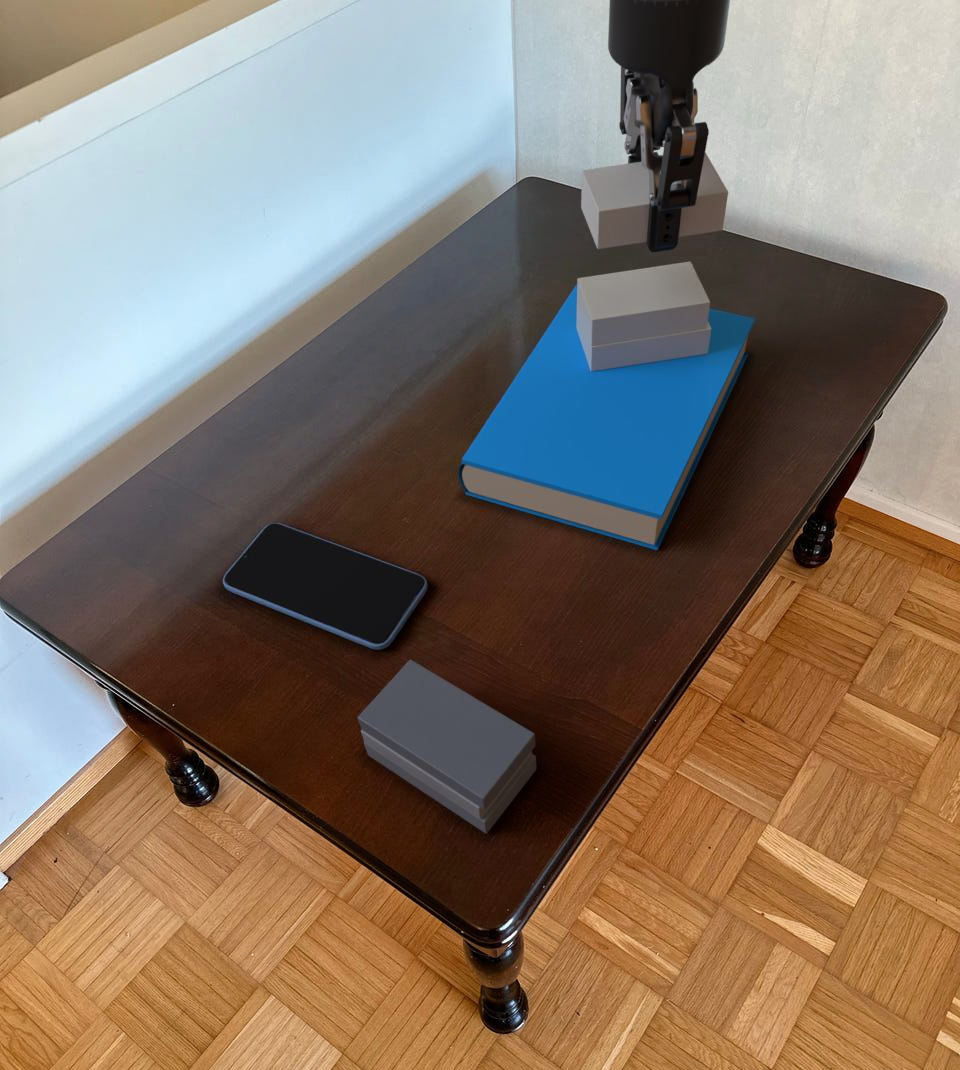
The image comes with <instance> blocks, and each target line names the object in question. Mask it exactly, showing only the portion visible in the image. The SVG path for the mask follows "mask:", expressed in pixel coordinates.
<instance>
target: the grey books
mask: <svg viewBox="0 0 960 1070" xmlns="http://www.w3.org/2000/svg"><path fill="white" fill-rule="evenodd" d="M357 721H358V724H359V726H360V733H361V737H362V739H363V746H364V747H365V751H366V754H367V756H368V757H370V758H371V759H373V760H374V761H375V762H377V763H379V764H381V765H382V766H383V767H385V768H387V769H388V770H389V771H391V772H392V773H394V774H395V775H397V776H398V777H400V778H401V779H403V780H405V781H406V782H407V783H409V784H410V785H412V786H413V787H415V788H417V790H419V791H421V792H422V793H424V794H425V795H427V796H428V797H430V798H432V799H433V800H435V801H436V802H437V803H439V804H440V805H442V806H443V807H445V808H446V809H448V810H449V811H451V812H452V813H454V814H455V815H457V816H458V817H461V818H462V819H463V820H465V821H466V822H467V823H469V824H470V825H473V827H475V828H476V829H478V830H480V831H481V832H483V833H484V834H488V833H489V832H490V831H491V829H492V828H493V826H495V824H496V822H497V821H498V820H499V818H500V817H501V816H502V815H503V814H504V813H505V811H506V810H507V808H508V807H509V806H510V804H511V803H512V802H513V801H514V799H515V798H516V796H517V795H518V794H519V793H520V792H521V790H522V789H523V788H524V786H525V785H526V783H527V782H528V781H529V780H530V778H531V777H532V776H533V775H534V774H535V772H536V771H537V756H536V755H534V754H533V750H534V748H536V733H534V732H533V731H531V730H529V729H528V728H526V727H525V726H523V725H521V724H520V723H518V722H517V721H514V720H513V719H511V718H509V717H508V716H507V715H504V714H502V713H501V712H500V711H497V710H496V709H494V708H493V707H491V706H490V705H488V704H486V703H484V702H483V701H481V700H480V699H478V698H476V697H474V696H472V695H471V694H469V693H468V692H466V691H464V690H462V689H461V688H460V687H457V686H456V685H454V684H452V683H451V682H450V681H447V680H446V679H444V678H442V677H441V676H439V675H437V674H436V673H434V672H433V671H431V670H429V669H427V668H426V667H424V666H423V665H421V664H419V663H418V662H415V661H414V660H412V659H409V660H408V661H407V662H406V663H405V664H404V666H402V667H401V669H400V670H399V671H398V672H397V673H396V674H395V675H394V676H393V678H391V680H390V681H389V682H388V683H387V684H386V686H384V687H383V689H381V691H380V692H379V693H378V694H377V695H376V696H375V698H373V699H372V701H370V703H369V704H368V705H367V706H366V707H365V708H364V709H363V710H362V711H361V713H360V714H359V715H358V716H357Z"/></svg>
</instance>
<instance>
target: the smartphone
mask: <svg viewBox="0 0 960 1070" xmlns="http://www.w3.org/2000/svg"><path fill="white" fill-rule="evenodd" d="M222 584H223V586H224V588H225V589H226V590H227V591H229V592H230V593H232V594H234V595H238V596H240V597H243V598H245V599H248V600H249V601H252V602H255V603H257V604H260V605H263V606H264V607H267V608H270V609H273V610H275V611H278V612H279V613H282V614H285V615H287V616H290V617H292V618H295V619H297V620H299V621H301V622H304V623H307V624H310V625H312V626H315V627H317V628H319V629H322V630H324V631H327V632H330V633H332V634H334V635H337V636H340V637H342V638H344V639H347V640H349V641H352V642H354V643H356V644H359V645H361V646H364V647H367V648H369V649H372V650H376V651H377V650H378V651H381V650H385V649H386V648H388V647H390V645H391V644H392V643H393V641H394V640H395V639H396V637H397V636H398V634H399V633H400V631H401V630H402V629H403V627H404V625H405V624H406V622H407V621H408V620H409V619H410V616H411V615H412V613H413V612H414V610H416V607H417V606H418V605H419V603H420V602H421V600H422V599H423V597H424V596H425V595H426V593H427V591H428V581H427V579H426V578H425V577H424V576H423V575H421V574H420V573H417V572H414V571H411V570H409V569H406V568H403V567H401V566H397V565H395V564H392V563H390V562H388V561H387V562H386V561H384V560H381V559H378V558H376V557H374V556H370V555H367V554H365V553H363V552H360V551H356V550H354V549H351V548H349V547H346V546H343V545H341V544H338V543H335V542H332V541H330V540H327V539H324V538H322V537H319V536H316V535H313V534H311V533H308V532H305V531H302V530H301V529H297V528H294V527H292V526H289V525H286V524H283V523H280V522H272V523H269V524H267V525H266V526H265V527H264V528H263V529H261V531H260V532H259V533H258V534H257V535H256V537H255V538H254V539H253V540H252V542H251V543H250V544H249V545H248V546H247V547H246V549H244V550H243V552H242V554H241V555H240V556H239V557H238V558H237V559H236V561H234V563H233V564H232V565H231V566H230V568H229V569H228V570H227V571H226V572H225V574H224V575H223V578H222Z"/></svg>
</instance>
